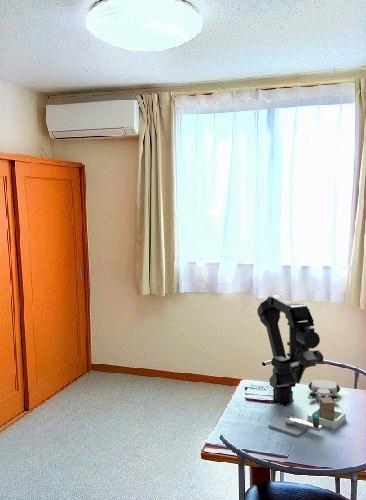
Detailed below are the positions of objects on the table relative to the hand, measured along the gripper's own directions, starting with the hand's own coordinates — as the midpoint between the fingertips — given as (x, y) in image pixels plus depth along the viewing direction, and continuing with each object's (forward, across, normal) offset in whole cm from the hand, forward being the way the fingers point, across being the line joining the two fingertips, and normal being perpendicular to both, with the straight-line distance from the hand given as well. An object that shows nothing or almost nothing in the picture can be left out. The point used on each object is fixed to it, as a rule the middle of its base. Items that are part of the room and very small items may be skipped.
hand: (297, 382), depth 165 cm
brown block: (+11, +6, -8) cm, 15 cm away
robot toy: (+12, +19, +8) cm, 24 cm away
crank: (+11, -5, -10) cm, 15 cm away
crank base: (+12, -7, -6) cm, 15 cm away
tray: (+12, +6, -8) cm, 16 cm away
